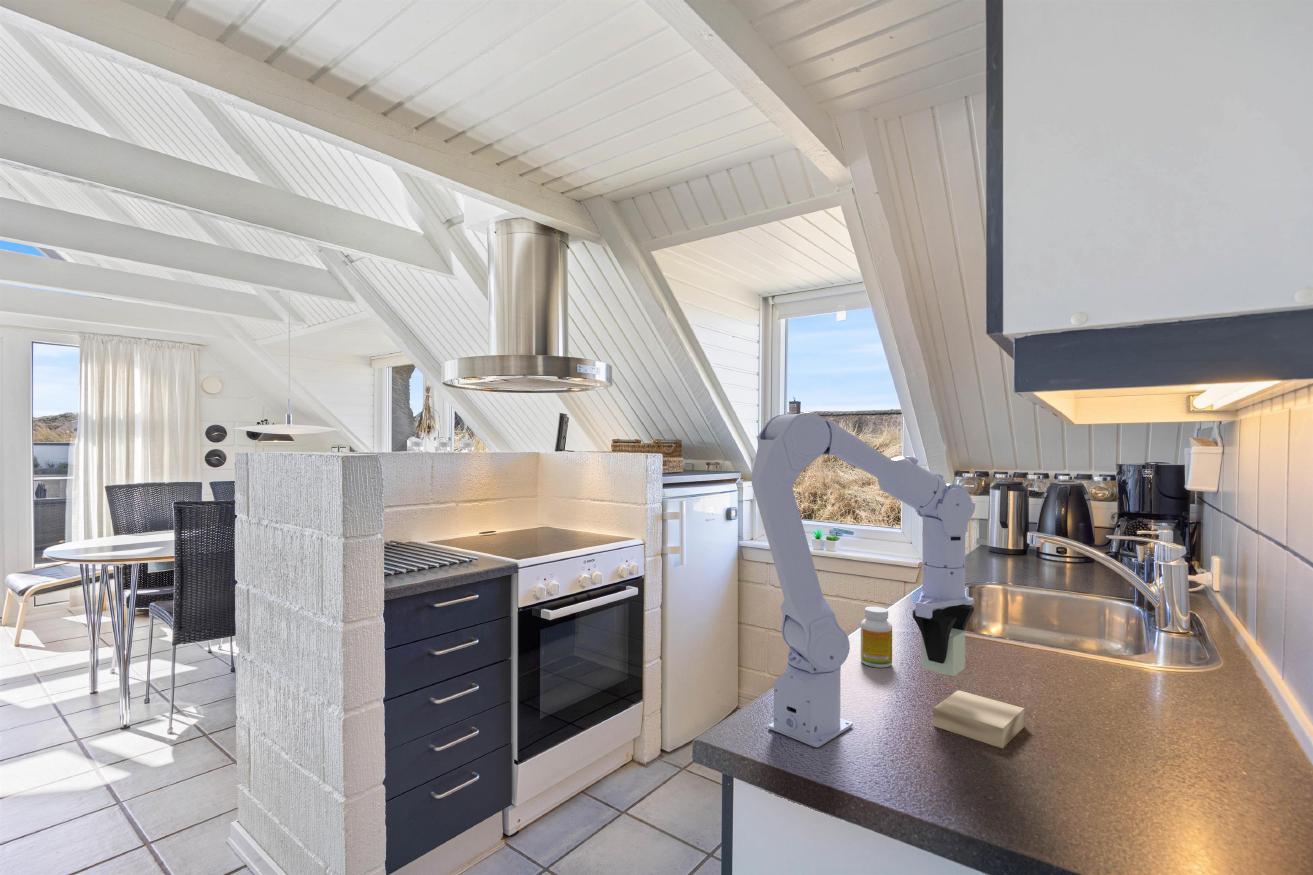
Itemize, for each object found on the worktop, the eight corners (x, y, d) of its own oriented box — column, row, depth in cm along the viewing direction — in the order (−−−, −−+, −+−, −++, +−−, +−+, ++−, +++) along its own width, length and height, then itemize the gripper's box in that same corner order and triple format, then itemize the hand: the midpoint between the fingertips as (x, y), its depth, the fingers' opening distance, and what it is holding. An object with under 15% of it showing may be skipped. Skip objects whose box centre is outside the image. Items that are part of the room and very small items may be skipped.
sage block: (953, 676, 90) (953, 637, 90) (921, 668, 94) (921, 630, 94) (965, 668, 93) (965, 630, 93) (934, 660, 97) (934, 624, 97)
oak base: (1002, 751, 84) (1002, 728, 84) (933, 728, 90) (933, 707, 90) (1024, 729, 90) (1024, 708, 90) (958, 709, 96) (958, 689, 96)
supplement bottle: (896, 668, 112) (896, 613, 112) (865, 668, 112) (866, 613, 112) (886, 657, 117) (886, 605, 117) (856, 657, 118) (857, 604, 117)
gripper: (952, 576, 85) (952, 677, 86) (990, 561, 96) (990, 651, 96) (901, 568, 91) (901, 663, 91) (942, 555, 101) (942, 641, 101)
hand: (943, 657), depth 93 cm, fingers closed on sage block, 4 cm apart
